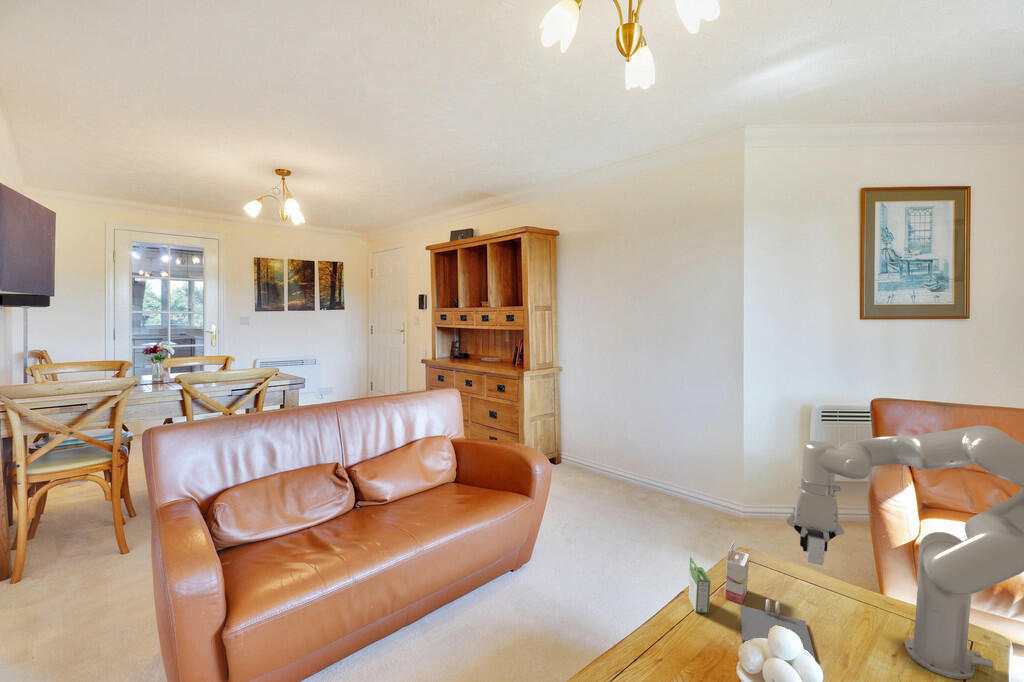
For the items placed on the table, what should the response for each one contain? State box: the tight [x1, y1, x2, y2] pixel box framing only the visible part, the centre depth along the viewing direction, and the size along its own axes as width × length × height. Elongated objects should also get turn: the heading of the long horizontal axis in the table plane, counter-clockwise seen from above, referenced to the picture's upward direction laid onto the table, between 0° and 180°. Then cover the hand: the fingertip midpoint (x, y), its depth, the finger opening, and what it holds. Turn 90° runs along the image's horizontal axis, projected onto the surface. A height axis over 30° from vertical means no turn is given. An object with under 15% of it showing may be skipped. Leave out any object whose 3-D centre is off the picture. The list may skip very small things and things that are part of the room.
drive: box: [804, 528, 825, 566], centre depth 129 cm, size 4×10×7 cm, turn 154°
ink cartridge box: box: [724, 541, 750, 605], centre depth 140 cm, size 9×5×15 cm, turn 144°
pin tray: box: [739, 598, 816, 659], centre depth 124 cm, size 16×15×5 cm
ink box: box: [688, 555, 711, 614], centre depth 135 cm, size 7×4×13 cm, turn 175°
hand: (813, 550), depth 129 cm, fingers closed on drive, 3 cm apart
